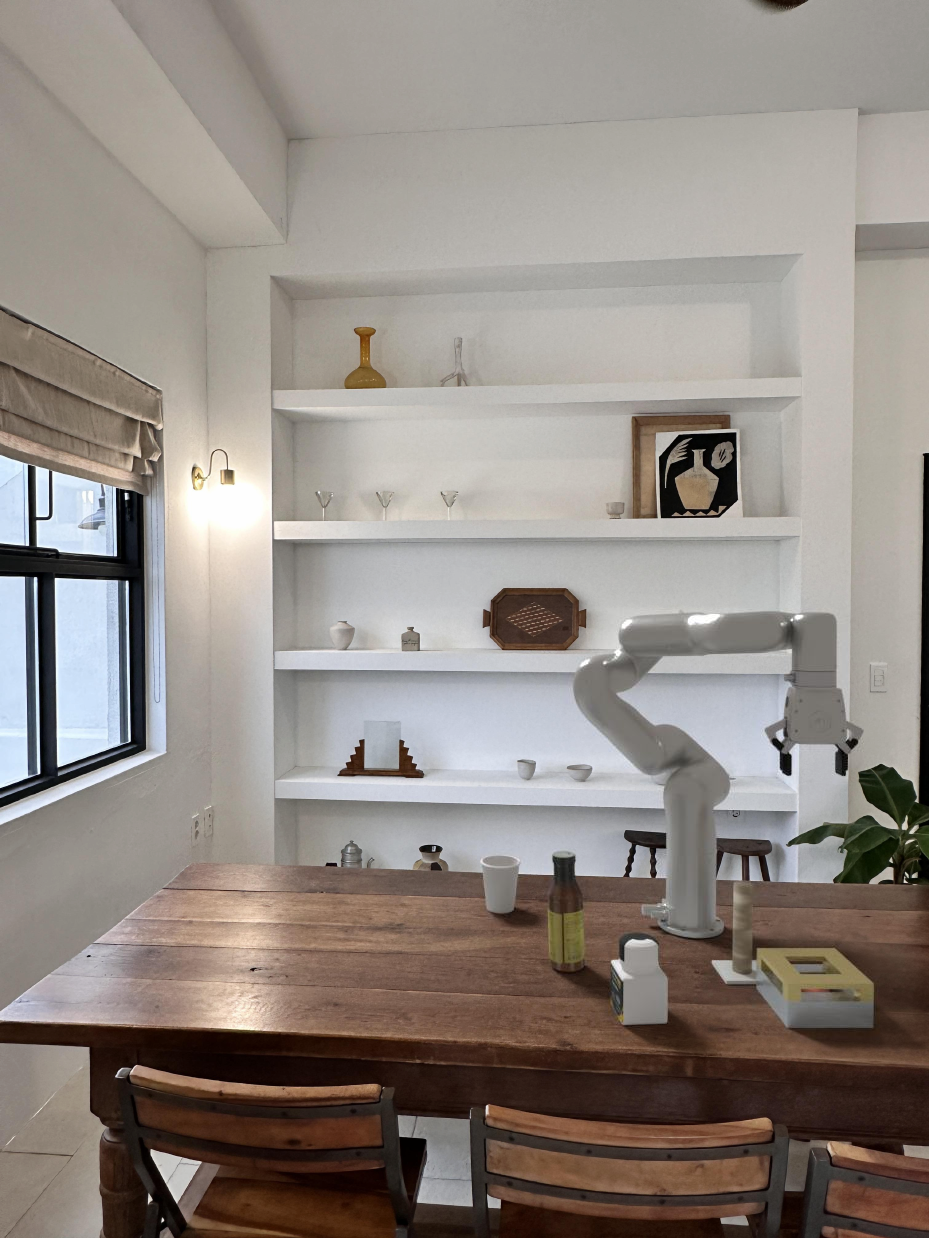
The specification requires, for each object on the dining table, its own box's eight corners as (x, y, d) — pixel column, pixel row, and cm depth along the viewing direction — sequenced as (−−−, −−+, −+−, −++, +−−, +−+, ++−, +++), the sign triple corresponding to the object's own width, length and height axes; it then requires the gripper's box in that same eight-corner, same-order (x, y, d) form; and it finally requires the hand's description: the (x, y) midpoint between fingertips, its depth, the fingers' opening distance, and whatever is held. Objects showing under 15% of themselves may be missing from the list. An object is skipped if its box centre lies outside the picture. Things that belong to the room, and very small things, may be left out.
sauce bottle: (587, 961, 150) (588, 850, 149) (580, 976, 144) (581, 860, 143) (551, 956, 152) (552, 846, 151) (543, 970, 146) (544, 856, 146)
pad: (726, 984, 141) (726, 980, 141) (711, 963, 149) (711, 960, 149) (773, 983, 141) (773, 980, 141) (756, 963, 149) (756, 960, 149)
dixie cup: (527, 906, 177) (527, 858, 177) (507, 918, 170) (508, 869, 170) (493, 898, 181) (493, 852, 181) (472, 910, 174) (472, 862, 174)
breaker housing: (787, 1027, 127) (787, 983, 127) (756, 988, 140) (756, 948, 140) (873, 1027, 127) (873, 983, 127) (834, 988, 140) (834, 948, 140)
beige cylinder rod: (735, 974, 144) (737, 887, 143) (729, 965, 147) (730, 881, 146) (754, 974, 144) (755, 887, 143) (748, 965, 147) (749, 880, 146)
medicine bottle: (609, 1003, 134) (610, 928, 134) (653, 1001, 135) (654, 927, 135) (621, 1026, 127) (622, 947, 127) (668, 1024, 128) (668, 945, 127)
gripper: (772, 682, 149) (772, 778, 149) (871, 682, 149) (871, 779, 149) (759, 678, 157) (758, 770, 157) (853, 678, 156) (852, 770, 156)
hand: (813, 774), depth 153 cm, fingers open, 9 cm apart
